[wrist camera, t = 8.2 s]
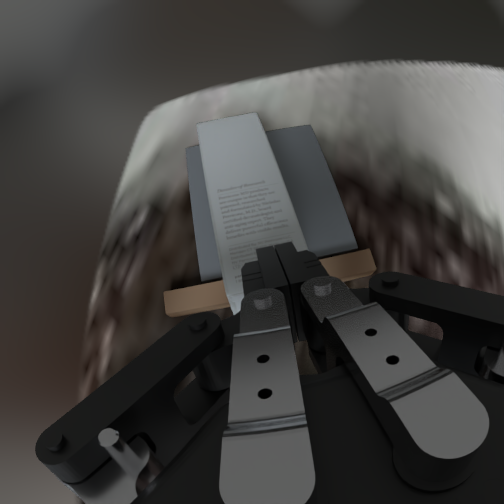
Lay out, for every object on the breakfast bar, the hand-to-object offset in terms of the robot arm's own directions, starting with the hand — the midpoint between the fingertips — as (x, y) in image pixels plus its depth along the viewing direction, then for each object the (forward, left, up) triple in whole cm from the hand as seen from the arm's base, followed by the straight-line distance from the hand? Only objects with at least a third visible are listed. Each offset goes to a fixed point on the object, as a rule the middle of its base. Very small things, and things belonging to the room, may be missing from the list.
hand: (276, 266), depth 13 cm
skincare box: (0, +1, -4) cm, 4 cm away
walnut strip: (0, -2, -8) cm, 8 cm away
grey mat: (-1, -9, -8) cm, 12 cm away
